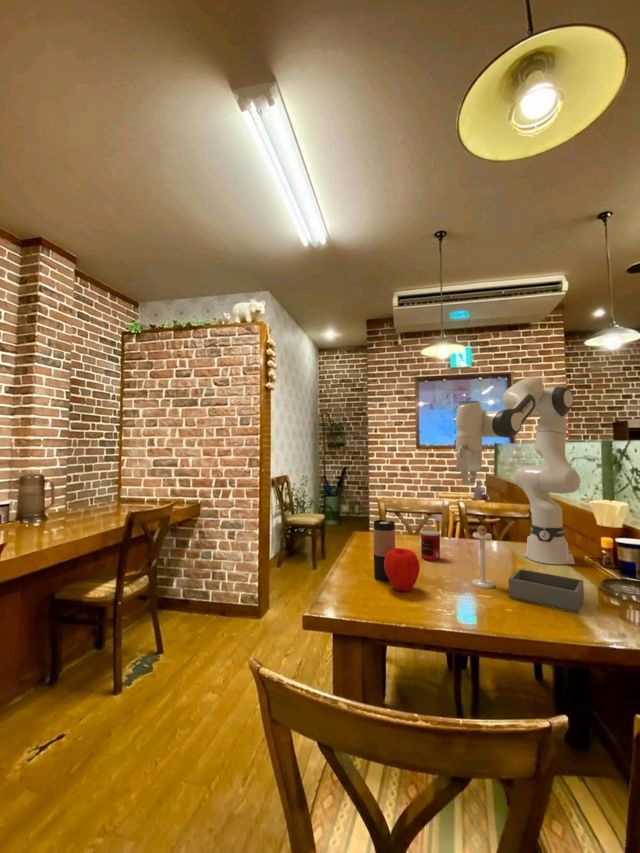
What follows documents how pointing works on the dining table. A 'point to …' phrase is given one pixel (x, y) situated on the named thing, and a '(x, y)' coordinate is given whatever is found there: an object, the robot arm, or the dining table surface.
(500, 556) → the dining table surface
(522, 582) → the tray
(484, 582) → the pedestal dish
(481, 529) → the ball
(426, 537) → the canned food
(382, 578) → the travel mug
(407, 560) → the apple
